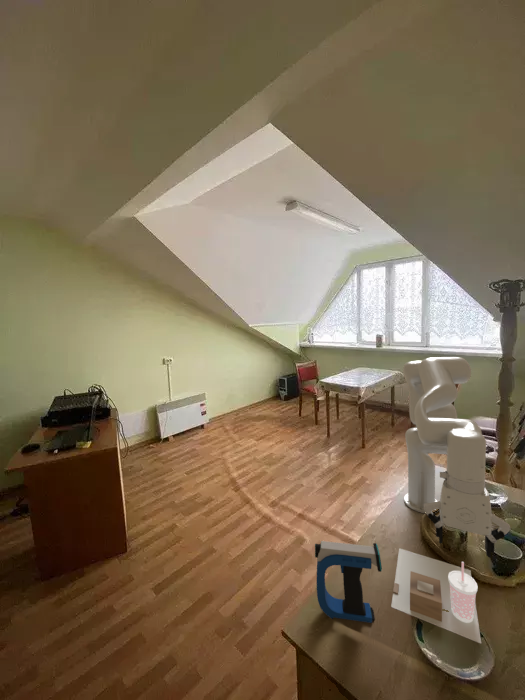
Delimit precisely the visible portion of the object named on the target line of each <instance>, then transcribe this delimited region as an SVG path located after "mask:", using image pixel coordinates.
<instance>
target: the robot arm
mask: <svg viewBox="0 0 525 700" xmlns="http://www.w3.org/2000/svg"><path fill="white" fill-rule="evenodd" d="M402 370H403V371H402V372H403V377H404V380H405V383H406V384H407V385H406V386H407V387H408V393H409V396H408V397H409V398H408V399H409V400H408V401H409V405H408V407H409V420H410V422H411V423H412V424H413V425H415V427H411V428H408V429H407V430H406V431H405V434H404V435H405V436H404V437H405V443H406V444H405V445H406V450H407V465H408V466H407V480H408V481H407V485H408V486H407V493H406V494H405V495H404V497H403V501H404V504H405V505H406V506H407V507H409V509H411V510H413V511H415V512H419V513H422V514H426V515H427V517H428V519H429V520H430V521H431V523H433V524H434V527H435V537H437V538H438V542H439V544H443V541H444V540H443V538H444V537H443V532H444V531H443V527H444V526H447V527H450V528H453V529H456V530H460V531H463V532H467V533H473V534H476V535H480V536H484V537H485V538H484V541H485V542H484V549H485V553H486V557H488V558H492V553H493V554H494V553H495V544H496V543H497V542H498V541H499V540H501V539H503V538H505V537H506V535H507V534H508V533H509V531H511V525H510V524H509V522H506V521H505V520H503V519H502V518H501V517H499V516H496V515H495V514H493V513H492V505H491V498H490V493H489V491H488V489H487V488H486V455H487V439H486V438H485V436H484V435H483V433H482V429H481V427H480V426H479V424H478V423H477V422H475V421H474V420H472V419H468V418H458V413H457V410H456V407H455V405H454V404H452V403H453V402H455V401H456V399H457V398H458V396H459V392H458V391H459V390H458V388H457V386H456V385H461V384H466V383H467V382H469V381H470V379H471V377H472V369H471V365H470V364H469V362H468V360H466V359H465V358H464V357H459V356H441V357H440V356H439V357H438V356H437V357H436V356H435V357H433V356H432V357H427V358H423V359H422V360H411V361H406V362H405V363H404V365H403V369H402ZM429 454H434V455H435V454H438V455H446V470H444V471H439V477H440V478H442V479H444V480H443V482H442V485H441V492H440V498H439V500H437V499H436V465H435V460H433V459H432V457H431V456H430V455H429ZM436 509H439V514H437V515H436V514H435V513H433V512H432V510H436ZM425 512H426V513H425ZM492 524H495V525H496V526H498V528H495V529H492V528H493V527H492V526H493V525H492Z"/></svg>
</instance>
